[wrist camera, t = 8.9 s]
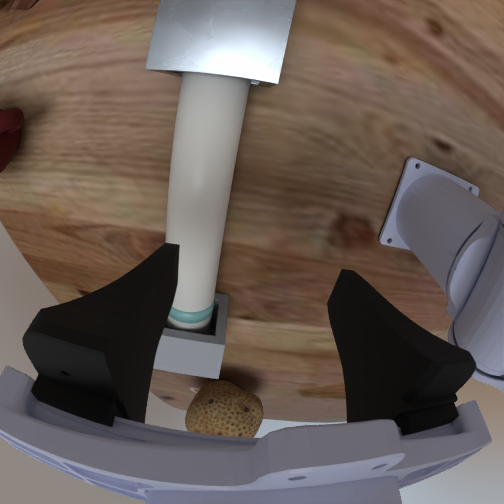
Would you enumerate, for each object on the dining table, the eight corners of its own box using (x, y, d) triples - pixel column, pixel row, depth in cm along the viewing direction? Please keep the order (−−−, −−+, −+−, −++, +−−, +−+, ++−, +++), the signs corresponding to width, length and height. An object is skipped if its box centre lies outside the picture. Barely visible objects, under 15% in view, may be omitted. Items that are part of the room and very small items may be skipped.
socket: (159, 283, 26) (141, 331, 20) (228, 294, 26) (224, 345, 21) (160, 320, 28) (146, 366, 23) (222, 330, 29) (218, 379, 24)
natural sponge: (256, 359, 31) (258, 436, 23) (266, 395, 36) (269, 459, 27) (182, 364, 32) (170, 437, 24) (204, 399, 37) (198, 461, 28)
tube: (197, 39, 14) (183, 25, 11) (259, 46, 15) (261, 33, 11) (170, 309, 26) (160, 341, 23) (212, 316, 26) (207, 349, 23)
